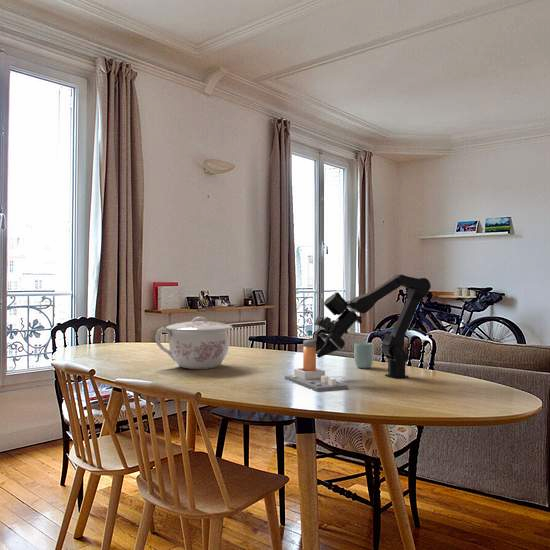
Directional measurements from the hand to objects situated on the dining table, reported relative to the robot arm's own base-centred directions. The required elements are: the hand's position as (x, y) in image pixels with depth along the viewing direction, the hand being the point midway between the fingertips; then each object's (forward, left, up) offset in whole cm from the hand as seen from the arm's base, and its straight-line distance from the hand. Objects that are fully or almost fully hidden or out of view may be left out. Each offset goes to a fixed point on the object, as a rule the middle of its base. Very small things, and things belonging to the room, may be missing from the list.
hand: (313, 355), depth 203 cm
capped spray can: (0, +2, -8) cm, 8 cm away
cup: (+15, -32, -9) cm, 37 cm away
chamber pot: (+43, +30, -9) cm, 54 cm away
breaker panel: (-7, +3, -9) cm, 12 cm away
